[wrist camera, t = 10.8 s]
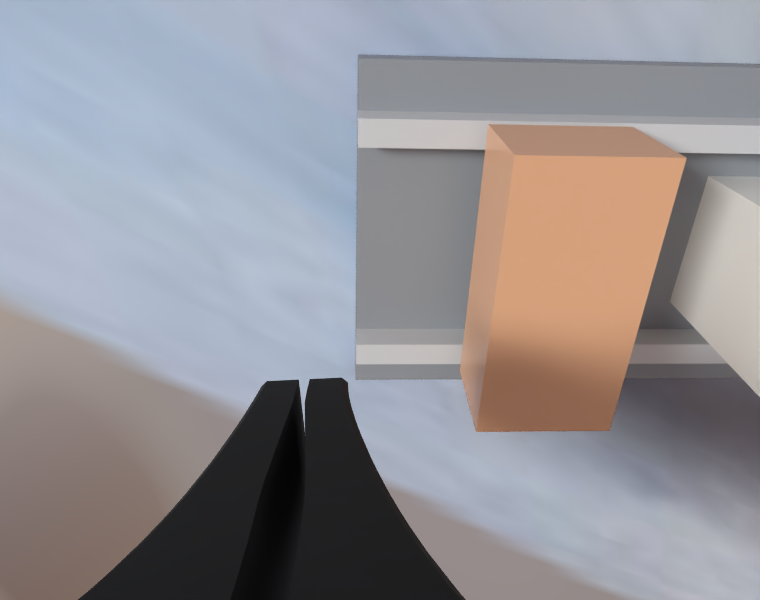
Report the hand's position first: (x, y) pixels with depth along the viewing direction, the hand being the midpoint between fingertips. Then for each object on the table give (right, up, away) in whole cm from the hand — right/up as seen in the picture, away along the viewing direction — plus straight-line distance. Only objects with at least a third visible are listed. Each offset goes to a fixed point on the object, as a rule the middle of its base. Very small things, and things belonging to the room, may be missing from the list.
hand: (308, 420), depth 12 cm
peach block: (+6, +4, +7) cm, 10 cm away
